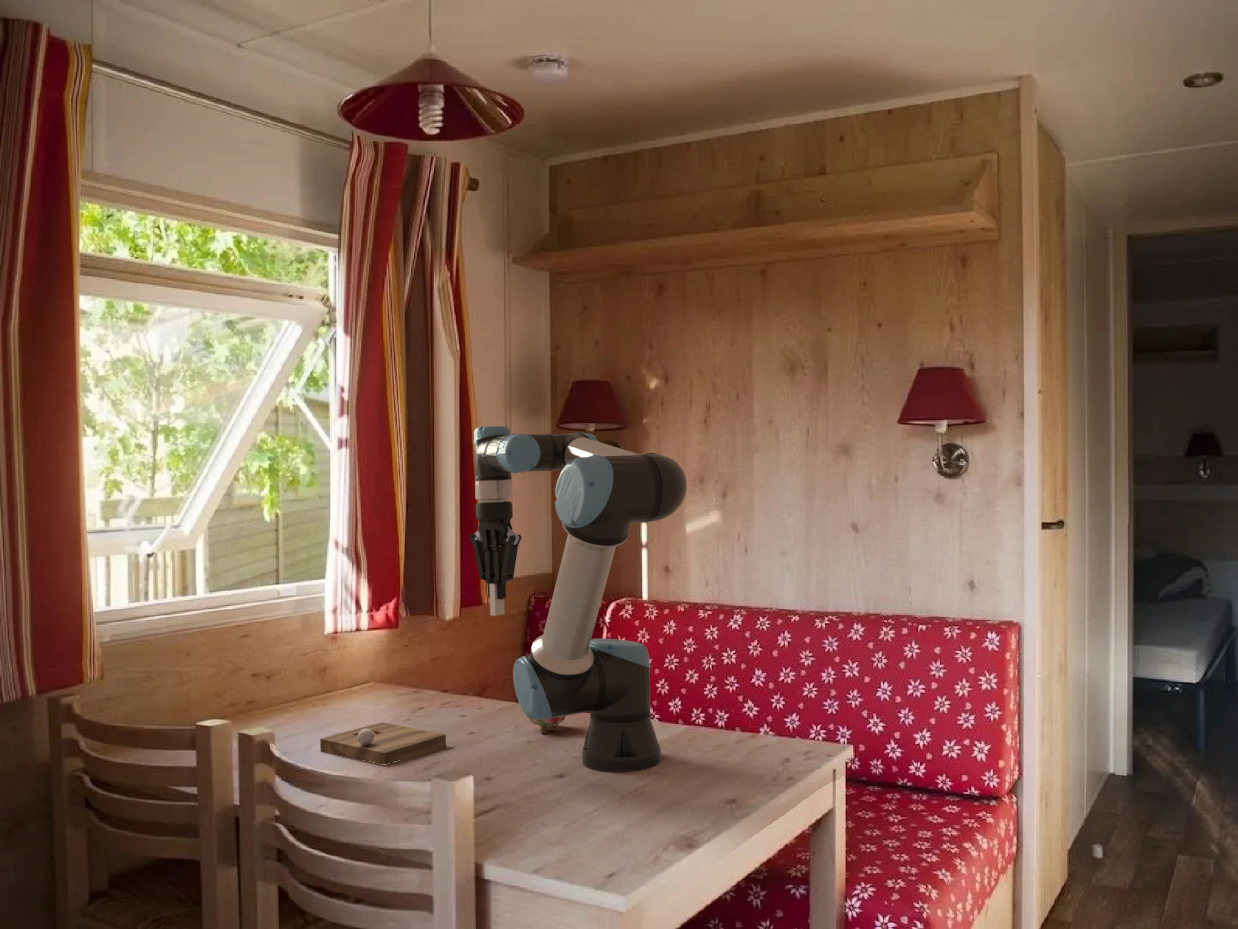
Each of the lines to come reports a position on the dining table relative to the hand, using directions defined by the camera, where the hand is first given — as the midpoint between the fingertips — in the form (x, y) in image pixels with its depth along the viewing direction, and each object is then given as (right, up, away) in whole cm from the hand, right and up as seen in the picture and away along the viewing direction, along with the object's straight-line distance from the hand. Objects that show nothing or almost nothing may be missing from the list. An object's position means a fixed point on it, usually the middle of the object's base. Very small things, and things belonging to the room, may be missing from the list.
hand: (497, 614), depth 229 cm
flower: (+10, -26, +9) cm, 29 cm away
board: (-23, -27, -3) cm, 36 cm away
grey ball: (-25, -23, -9) cm, 35 cm away
